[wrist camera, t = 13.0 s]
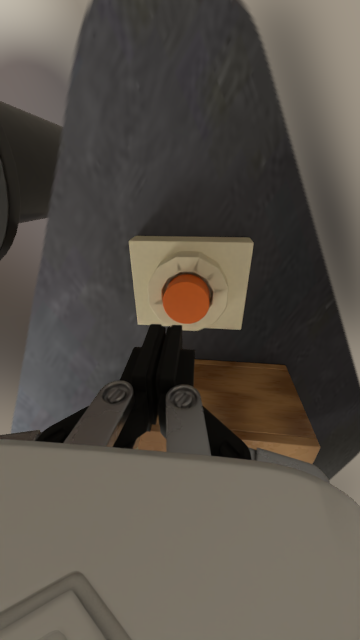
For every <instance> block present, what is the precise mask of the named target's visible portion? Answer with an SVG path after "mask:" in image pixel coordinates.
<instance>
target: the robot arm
mask: <svg viewBox="0 0 360 640" xmlns="http://www.w3.org/2000/svg"><path fill="white" fill-rule="evenodd" d="M194 363H195V350H186V349H182V325H172V326H171V327H168V328H167V332H166V333H165V327H162V325H161V324H151V325H150V327H149V330H148V333H147V335H146V338H145V341H144V343H143V346H142V347H134V349H133V351H132V353H131V356H130V358H129V360H128V363H127V365H126V367H125V370H124V372H123V374H122V377H121V379H120V381H113V382H111V383H108V384H107V385H105V386H104V387H103V388H102V389H101V390H100V391H99V393H98V394H97V396H96V397H95V399H94V400H93V401H92V403H91V404H90V405H89V406H87V407H86V408H84V409H82V410H80V411H78V412H76V413H74V414H73V415H71V416H69V417H67V418H65V419H63V420H61V421H60V422H58V423H56V424H54V425H52V426H50V427H49V428H47V429H46V430H45V431H44V432H40V430H35V431H27V432H20V433H13V434H6V435H0V640H360V506H359V505H358V504H357V503H356V502H355V501H354V500H353V499H352V498H351V497H349V496H348V495H346V494H345V493H344V492H343V491H341V490H339V489H338V488H336V487H334V486H333V485H331V484H330V482H329V479H328V478H327V477H326V475H325V474H324V473H323V472H322V471H321V470H320V469H319V468H318V467H316V466H314V465H312V464H310V463H308V462H304V461H301V460H298V459H294V458H291V457H288V456H284V455H281V454H278V453H274V452H271V451H268V450H264V449H261V448H258V447H257V449H256V450H255V449H252V448H248V447H247V445H246V444H245V443H244V442H243V441H242V440H241V439H240V438H239V437H238V436H236V435H235V434H234V433H233V432H232V431H231V430H230V429H228V428H227V427H226V426H225V425H224V424H223V423H222V422H221V421H219V420H218V419H217V418H216V417H215V416H214V415H213V414H212V413H210V412H209V411H208V410H207V409H206V408H205V407H204V406H202V401H201V396H200V393H199V392H198V390H197V389H196V388H194V387H193V385H194ZM157 417H158V420H159V425H160V433H161V434H162V435H163V437H164V438H165V439H166V452H162V451H150V450H139V449H137V447H138V445H139V442H140V436H141V435H143V434H144V433H145V432H151V427H152V425H156V422H157Z"/></svg>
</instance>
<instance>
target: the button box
mask: <svg viewBox="0 0 360 640" xmlns="http://www.w3.org/2000/svg"><path fill="white" fill-rule="evenodd" d="M253 245H254V243H253V241H252V240H251V239H250V238H249V237H184V236H135V237H134V238H132V239H131V240H129V248H130V257H131V266H132V276H133V285H134V294H135V303H136V312H137V321H138V324H139V325H151V324H161V325H162V326H172V325H182V330H190V331H198V330H200V329H203V328H216V329H235V330H241V326H242V320H243V313H244V306H245V299H246V292H247V286H248V279H249V272H250V265H251V258H252V252H253ZM184 274H191V275H195V276H197V277H199V278H201V279H202V280H203V281H204V282H205V283H206V285H207V287H208V289H209V298H210V305H209V310H208V312H207V314H206V315H205V316H204V317H203V318H202V319H201V320H199V321H198V322H195V323H192V324H182V323H179V322H176V321H174V320H173V319H171V318H170V317H169V316H168V315H167V313H166V312H165V310H164V307H163V296H164V293H165V291H166V289H167V286H168V284H169V283H170V282H171V281H172V280H173V279H174V278H175V277H177V276H180V275H184Z"/></svg>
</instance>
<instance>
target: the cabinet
mask: <svg viewBox="0 0 360 640" xmlns="http://www.w3.org/2000/svg"><path fill="white" fill-rule="evenodd" d="M193 387H194V388H196V389H197V390H198V392H199V393H200V396H201V401H202V406H204V407H205V408H206V409H207V410H208V411H209V412H210V413H212V414H213V415H214V416H215V417H216V418H217V419H218V420H219V421H221V422H222V423H223V424H224V425H225V426H226V427H227V428H228V429H230V430H231V431H232V432H233V433H234V434H235V435H236V436H238V437H239V438H240V439H241V440H242V441H243V442H244V443H245V444H246V445H247V447H248V448H252V449H255V450H256V449H257V447H258V448H261V449H264V450H268V451H271V452H274V453H278V454H281V455H284V456H288V457H291V458H294V459H298V460H301V461H304V462H308V463H310V464H313V462H314V460H315V458H316V456H317V454H318V452H319V450H320V445H319V443H318V440H317V439H316V436H315V433H314V431H313V429H312V426H311V424H310V422H309V419H308V417H307V415H306V412H305V410H304V408H303V405H302V403H301V401H300V398H299V396H298V394H297V391H296V389H295V387H294V384H293V382H292V380H291V377H290V375H289V373H288V370H287V368H286V366H285V365H276V364H260V363H245V362H230V361H214V360H199V359H195V363H194V385H193ZM138 449H139V450H150V451H162V452H166V439H165V438H164V437H163V435H162V434H161V433H160V425H159V420H158V417H157V422H156V425H152V427H151V432H145V433H144V434H143V435H141V436H140V442H139V445H138Z"/></svg>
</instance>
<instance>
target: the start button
mask: <svg viewBox="0 0 360 640" xmlns="http://www.w3.org/2000/svg"><path fill="white" fill-rule="evenodd" d="M209 305H210V298H209V289H208V287H207V285H206V283H205V282H204V281H203V280H202V279H201V278H199V277H197V276H195V275H191V274H184V275H180V276H177V277H175V278H174V279H173V280H172V281H171V282H170V283H169V284H168V286H167V289H166V291H165V293H164V296H163V307H164V310H165V312H166V313H167V315H168V316H169V317H170V318H171V319H173V320H174V321H176V322H179V323H182V324H192V323H195V322H198V321H199V320H201V319H202V318H203V317H204V316H205V315H206V314H207V312H208V310H209Z"/></svg>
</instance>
